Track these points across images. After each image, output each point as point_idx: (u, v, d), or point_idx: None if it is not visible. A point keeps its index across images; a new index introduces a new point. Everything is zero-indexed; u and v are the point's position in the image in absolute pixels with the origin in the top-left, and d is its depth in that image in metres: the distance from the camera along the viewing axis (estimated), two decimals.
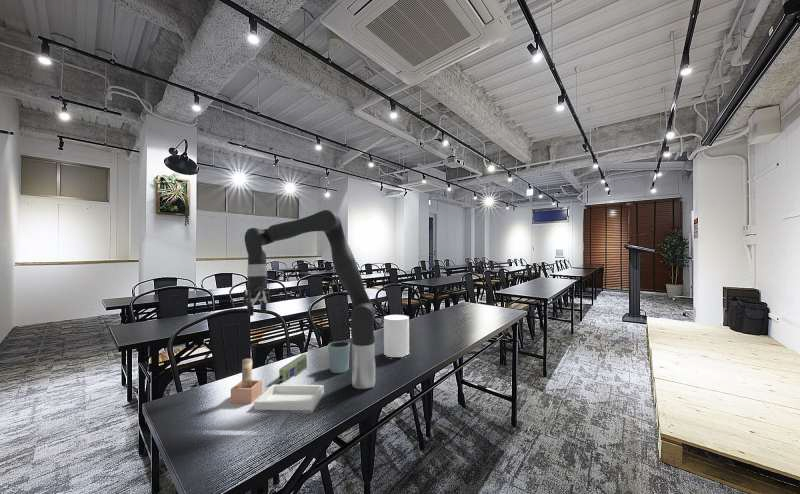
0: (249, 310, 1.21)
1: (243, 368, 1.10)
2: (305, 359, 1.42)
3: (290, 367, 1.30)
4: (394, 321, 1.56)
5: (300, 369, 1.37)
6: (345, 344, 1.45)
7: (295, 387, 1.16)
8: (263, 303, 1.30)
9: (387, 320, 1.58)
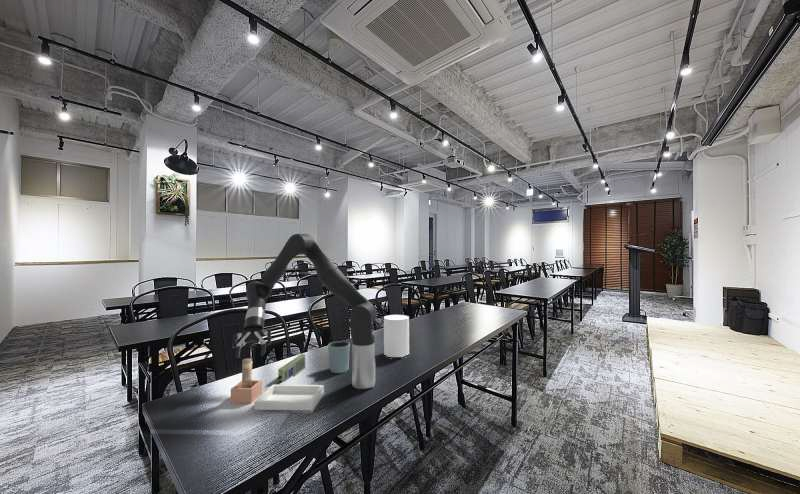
0: None
1: (243, 368, 1.10)
2: (304, 359, 1.43)
3: (289, 367, 1.30)
4: (394, 321, 1.56)
5: (298, 369, 1.38)
6: (345, 344, 1.45)
7: (295, 387, 1.16)
8: None
9: (387, 320, 1.58)
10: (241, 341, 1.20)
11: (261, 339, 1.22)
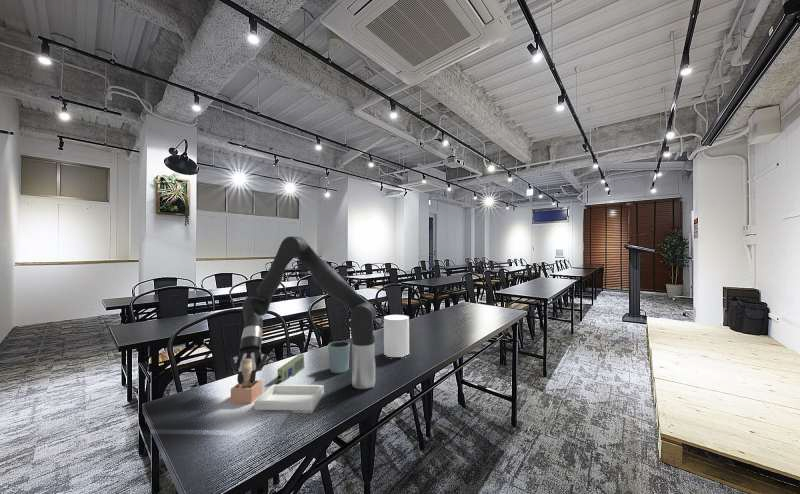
0: None
1: (243, 368, 1.10)
2: (302, 359, 1.43)
3: (288, 367, 1.30)
4: (394, 321, 1.56)
5: (297, 369, 1.38)
6: (345, 344, 1.45)
7: (295, 387, 1.16)
8: None
9: (387, 320, 1.58)
10: (241, 365, 1.12)
11: (253, 363, 1.13)
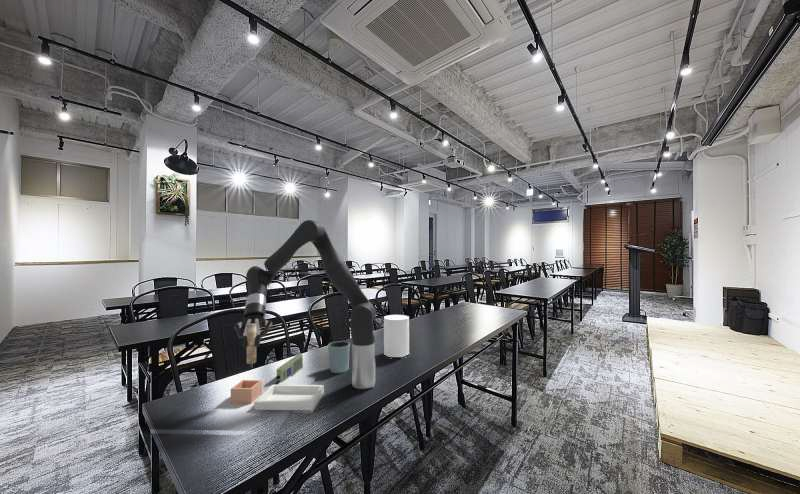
0: None
1: (247, 332, 1.10)
2: (301, 359, 1.43)
3: (287, 367, 1.30)
4: (394, 321, 1.56)
5: (296, 369, 1.38)
6: (345, 344, 1.45)
7: (295, 387, 1.16)
8: None
9: (387, 320, 1.58)
10: (246, 330, 1.12)
11: (258, 328, 1.14)
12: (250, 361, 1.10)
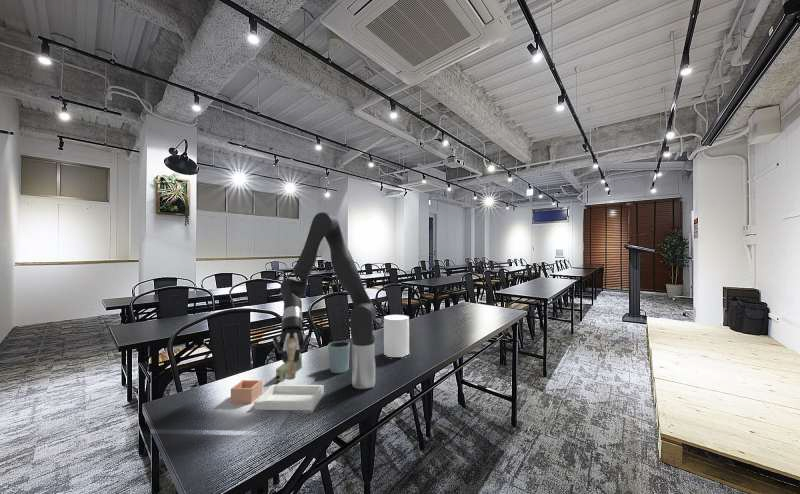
0: (282, 356, 1.09)
1: (288, 347, 1.09)
2: (300, 359, 1.43)
3: None
4: (394, 321, 1.56)
5: (295, 368, 1.38)
6: (345, 344, 1.45)
7: (295, 387, 1.16)
8: None
9: (387, 320, 1.58)
10: (285, 345, 1.11)
11: (297, 343, 1.12)
12: (290, 377, 1.08)
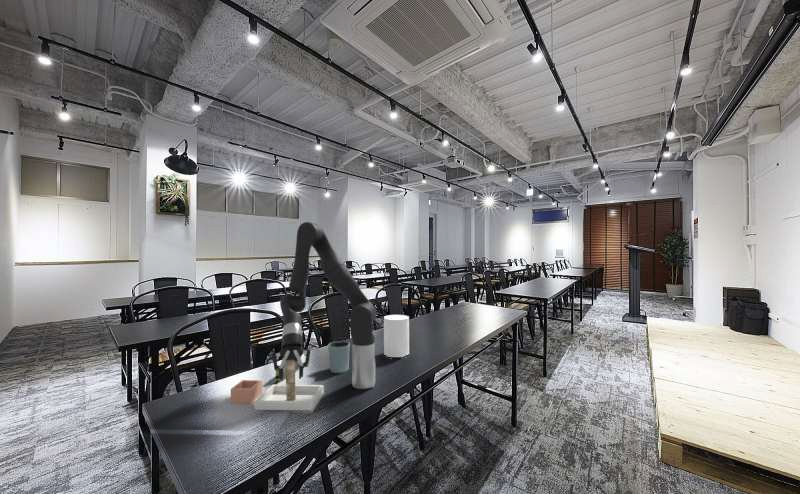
0: None
1: (287, 370, 1.08)
2: None
3: None
4: (394, 321, 1.56)
5: (295, 368, 1.38)
6: (345, 344, 1.45)
7: (295, 387, 1.16)
8: (299, 367, 1.12)
9: (387, 320, 1.58)
10: (283, 362, 1.11)
11: (299, 360, 1.12)
12: (290, 399, 1.08)
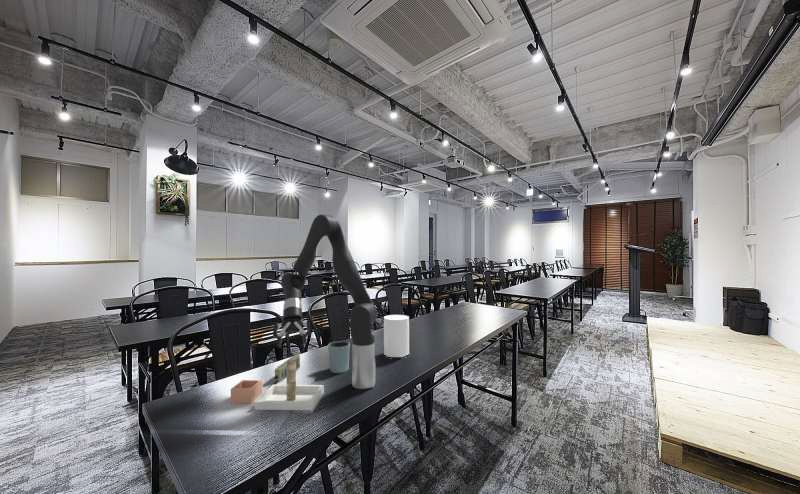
0: (277, 341, 1.17)
1: (288, 369, 1.09)
2: (298, 359, 1.43)
3: (285, 367, 1.30)
4: (394, 321, 1.56)
5: None
6: (345, 344, 1.45)
7: None
8: (302, 335, 1.21)
9: (387, 320, 1.58)
10: (282, 331, 1.19)
11: (301, 329, 1.21)
12: (290, 399, 1.08)
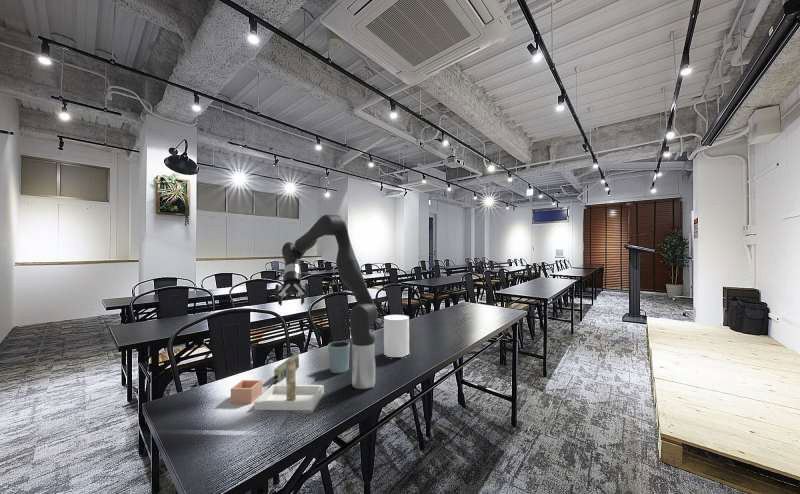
0: (278, 300, 1.29)
1: (287, 369, 1.09)
2: (297, 359, 1.43)
3: (284, 367, 1.30)
4: (394, 321, 1.56)
5: None
6: (345, 344, 1.45)
7: None
8: (301, 295, 1.33)
9: (387, 320, 1.58)
10: (282, 291, 1.31)
11: (300, 290, 1.34)
12: (290, 399, 1.08)
